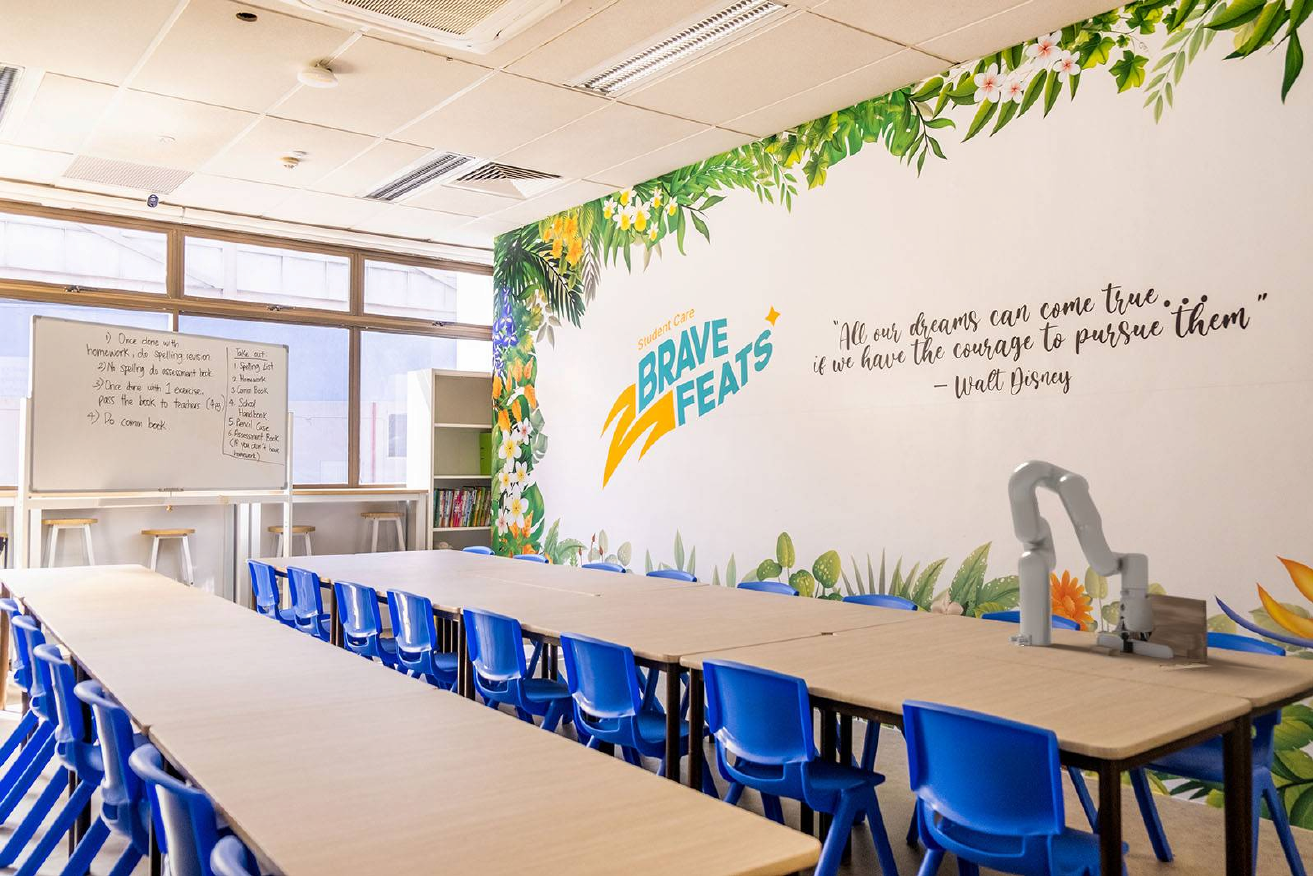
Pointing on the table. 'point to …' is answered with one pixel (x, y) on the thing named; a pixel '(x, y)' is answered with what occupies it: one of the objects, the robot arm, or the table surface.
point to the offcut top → (1105, 650)
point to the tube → (1136, 646)
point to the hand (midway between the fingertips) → (1135, 653)
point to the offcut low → (1109, 656)
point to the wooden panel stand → (1179, 625)
